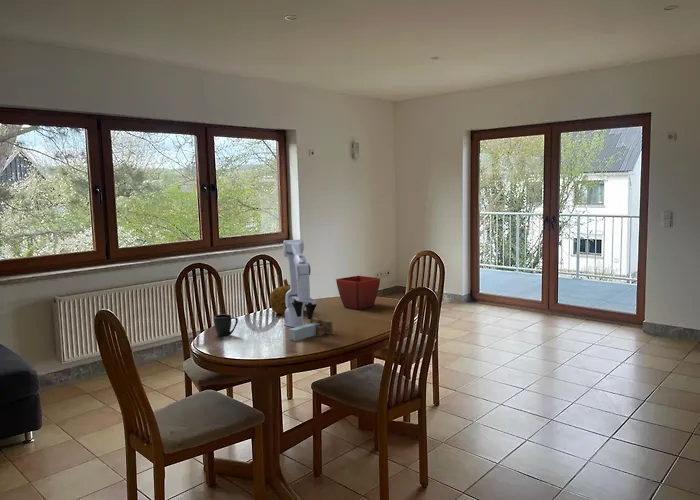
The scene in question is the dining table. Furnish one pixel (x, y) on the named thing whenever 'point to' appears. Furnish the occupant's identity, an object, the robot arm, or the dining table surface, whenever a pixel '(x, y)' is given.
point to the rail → (303, 331)
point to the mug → (223, 324)
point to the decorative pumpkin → (280, 298)
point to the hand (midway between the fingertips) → (304, 317)
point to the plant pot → (358, 291)
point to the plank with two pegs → (323, 326)
